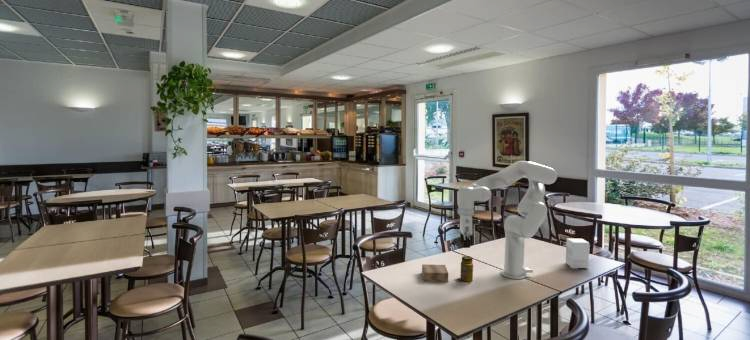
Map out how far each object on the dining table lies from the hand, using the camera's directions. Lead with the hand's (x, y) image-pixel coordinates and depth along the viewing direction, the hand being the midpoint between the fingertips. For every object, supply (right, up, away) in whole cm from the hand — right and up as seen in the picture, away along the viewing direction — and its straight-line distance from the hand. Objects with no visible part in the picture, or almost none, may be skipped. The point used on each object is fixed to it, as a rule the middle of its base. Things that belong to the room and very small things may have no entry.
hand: (465, 244), depth 189 cm
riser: (-14, -18, +5) cm, 24 cm away
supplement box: (+69, -17, +24) cm, 75 cm away
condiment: (0, -19, +1) cm, 19 cm away
